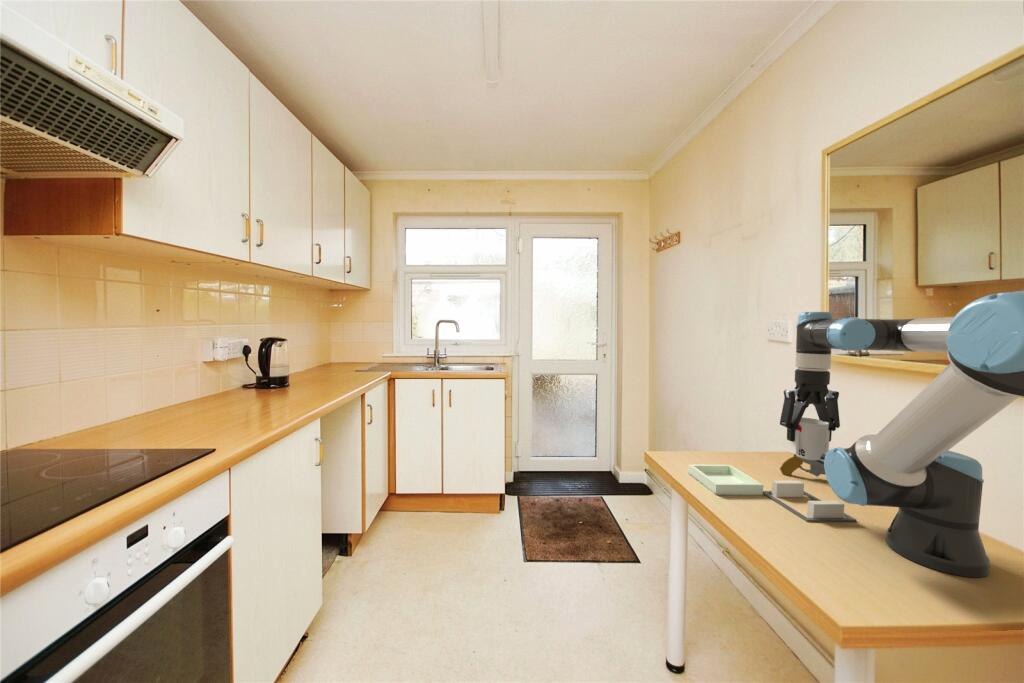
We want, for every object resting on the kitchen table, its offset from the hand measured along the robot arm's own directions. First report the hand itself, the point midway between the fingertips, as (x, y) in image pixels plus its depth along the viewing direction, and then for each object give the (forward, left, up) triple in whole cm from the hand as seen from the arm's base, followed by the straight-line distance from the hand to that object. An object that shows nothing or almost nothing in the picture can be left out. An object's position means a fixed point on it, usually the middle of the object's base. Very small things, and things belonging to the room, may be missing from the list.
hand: (808, 452), depth 106 cm
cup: (0, 0, -1) cm, 1 cm away
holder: (0, 0, -15) cm, 15 cm away
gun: (+18, -23, -15) cm, 33 cm away
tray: (+15, +14, -15) cm, 25 cm away
